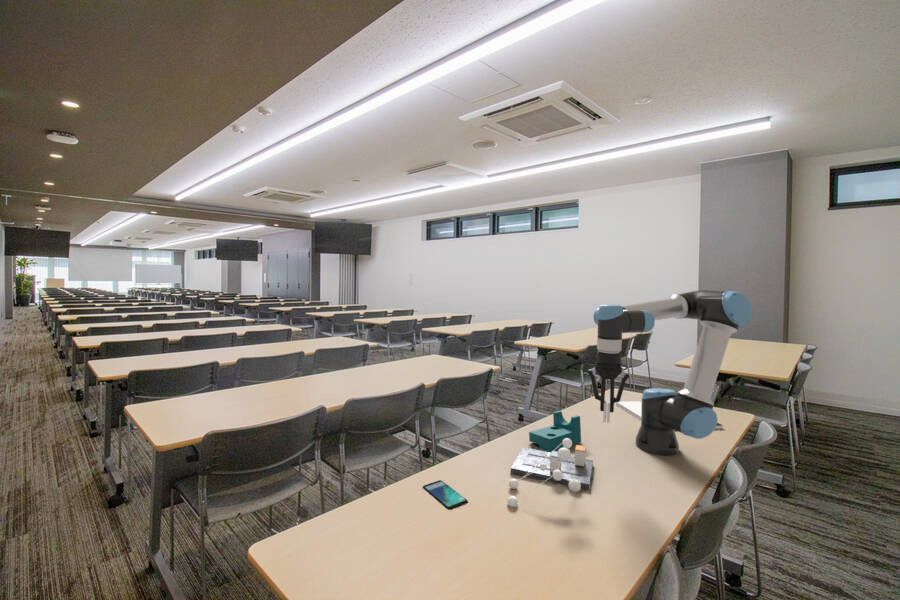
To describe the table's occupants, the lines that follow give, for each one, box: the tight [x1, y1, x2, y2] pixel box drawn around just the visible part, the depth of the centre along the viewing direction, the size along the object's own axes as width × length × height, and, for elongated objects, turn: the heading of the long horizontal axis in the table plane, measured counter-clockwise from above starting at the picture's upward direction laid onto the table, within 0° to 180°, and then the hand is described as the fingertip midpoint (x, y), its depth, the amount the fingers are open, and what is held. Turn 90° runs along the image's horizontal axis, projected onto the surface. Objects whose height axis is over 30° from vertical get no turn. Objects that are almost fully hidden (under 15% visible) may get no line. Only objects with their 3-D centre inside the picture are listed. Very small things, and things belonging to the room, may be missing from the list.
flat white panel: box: [615, 400, 724, 430], centre depth 192 cm, size 35×2×31 cm
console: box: [510, 446, 594, 491], centre depth 136 cm, size 25×18×2 cm
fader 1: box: [550, 450, 561, 472], centre depth 131 cm, size 3×4×5 cm
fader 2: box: [574, 444, 587, 466], centre depth 136 cm, size 3×4×5 cm
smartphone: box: [422, 479, 469, 510], centre depth 119 cm, size 7×1×15 cm
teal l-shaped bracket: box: [528, 410, 582, 452], centre depth 158 cm, size 18×11×10 cm, turn 124°
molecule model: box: [507, 438, 582, 508], centre depth 119 cm, size 14×25×18 cm, turn 98°
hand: (606, 420), depth 132 cm, fingers closed
